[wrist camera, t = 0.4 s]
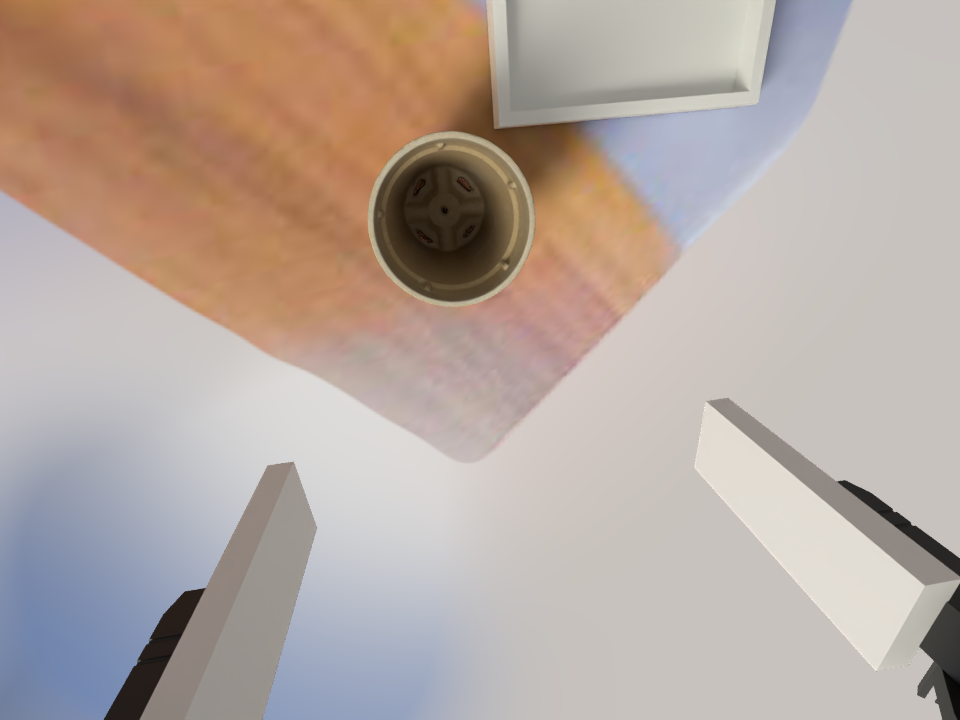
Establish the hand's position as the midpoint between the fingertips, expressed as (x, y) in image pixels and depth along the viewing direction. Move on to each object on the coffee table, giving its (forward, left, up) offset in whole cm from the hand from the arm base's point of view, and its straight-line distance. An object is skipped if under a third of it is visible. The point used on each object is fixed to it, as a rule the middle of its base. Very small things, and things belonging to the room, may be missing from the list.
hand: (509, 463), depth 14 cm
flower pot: (-6, 0, -23) cm, 23 cm away
